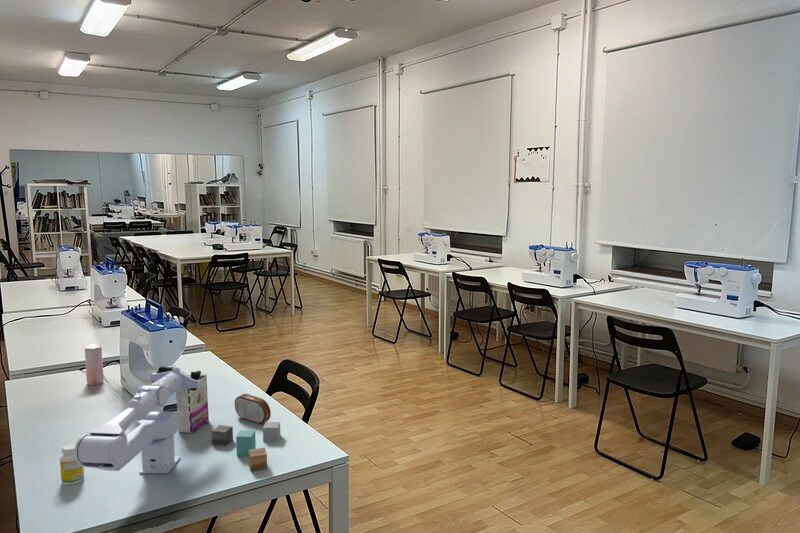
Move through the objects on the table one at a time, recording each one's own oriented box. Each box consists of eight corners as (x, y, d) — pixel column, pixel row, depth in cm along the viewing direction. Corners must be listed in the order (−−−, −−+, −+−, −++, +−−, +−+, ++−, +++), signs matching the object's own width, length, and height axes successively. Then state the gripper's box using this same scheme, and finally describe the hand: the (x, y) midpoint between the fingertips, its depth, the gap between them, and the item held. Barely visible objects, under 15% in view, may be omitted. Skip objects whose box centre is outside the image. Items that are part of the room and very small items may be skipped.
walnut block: (267, 469, 165) (266, 454, 165) (250, 472, 164) (250, 456, 163) (265, 462, 169) (264, 447, 169) (248, 464, 168) (248, 449, 167)
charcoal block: (225, 446, 179) (224, 432, 179) (212, 444, 181) (211, 430, 180) (233, 440, 184) (232, 426, 183) (220, 438, 185) (219, 424, 184)
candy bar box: (195, 419, 200) (193, 372, 198) (209, 420, 199) (207, 373, 197) (177, 432, 189) (174, 383, 187) (191, 434, 188) (189, 384, 186)
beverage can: (87, 381, 236) (84, 345, 234) (104, 379, 239) (101, 343, 237) (86, 386, 231) (84, 349, 229) (103, 384, 234) (101, 347, 232)
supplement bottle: (80, 484, 156) (78, 450, 155) (58, 486, 155) (55, 451, 154) (87, 474, 161) (84, 441, 160) (65, 476, 160) (63, 442, 159)
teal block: (252, 456, 173) (251, 436, 172) (236, 456, 173) (236, 436, 172) (255, 449, 178) (255, 430, 177) (240, 449, 178) (240, 430, 177)
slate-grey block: (277, 441, 183) (277, 427, 182) (263, 441, 183) (262, 427, 182) (280, 435, 188) (280, 422, 187) (266, 435, 187) (265, 421, 187)
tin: (271, 424, 196) (271, 399, 195) (264, 427, 194) (264, 402, 193) (240, 414, 204) (239, 390, 203) (233, 417, 202) (232, 393, 201)
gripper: (193, 376, 169) (211, 363, 183) (144, 368, 170) (166, 355, 184) (190, 399, 170) (209, 385, 184) (142, 391, 171) (164, 377, 184)
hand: (187, 372), depth 184 cm, fingers open, 7 cm apart
